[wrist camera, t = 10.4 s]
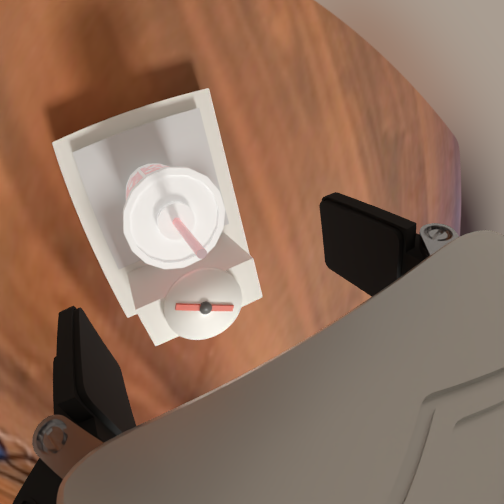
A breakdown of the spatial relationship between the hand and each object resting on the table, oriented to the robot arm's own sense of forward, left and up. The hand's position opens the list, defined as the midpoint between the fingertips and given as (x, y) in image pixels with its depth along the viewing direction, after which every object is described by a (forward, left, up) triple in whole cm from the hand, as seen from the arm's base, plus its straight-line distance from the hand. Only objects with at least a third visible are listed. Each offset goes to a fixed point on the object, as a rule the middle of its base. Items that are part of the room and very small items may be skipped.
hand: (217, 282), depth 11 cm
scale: (+3, +1, -20) cm, 21 cm away
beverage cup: (0, 0, -17) cm, 17 cm away
